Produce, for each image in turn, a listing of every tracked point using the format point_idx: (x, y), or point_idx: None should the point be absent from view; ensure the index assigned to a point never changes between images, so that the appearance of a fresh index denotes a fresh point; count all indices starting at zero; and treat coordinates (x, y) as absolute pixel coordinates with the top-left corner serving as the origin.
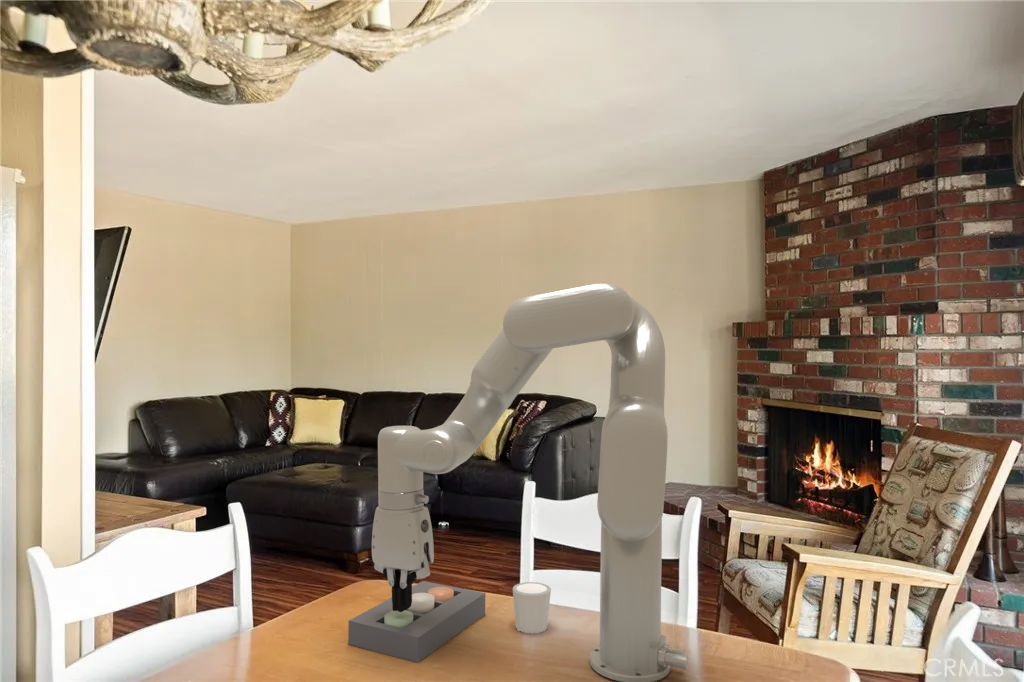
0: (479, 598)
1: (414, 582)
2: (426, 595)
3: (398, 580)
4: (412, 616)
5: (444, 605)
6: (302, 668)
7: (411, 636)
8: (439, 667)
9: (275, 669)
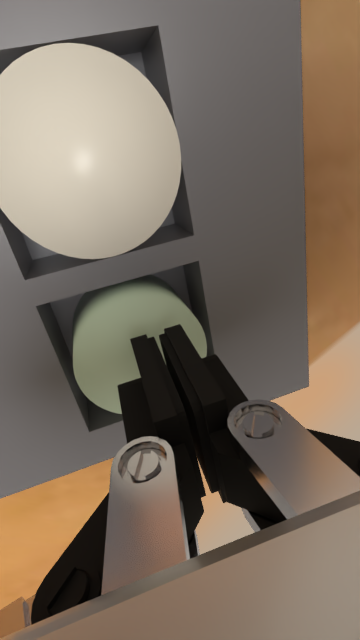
0: None
1: (274, 405)
2: (81, 97)
3: (191, 507)
4: (200, 324)
5: (188, 47)
6: (66, 548)
7: (283, 393)
8: (325, 320)
9: (24, 589)
